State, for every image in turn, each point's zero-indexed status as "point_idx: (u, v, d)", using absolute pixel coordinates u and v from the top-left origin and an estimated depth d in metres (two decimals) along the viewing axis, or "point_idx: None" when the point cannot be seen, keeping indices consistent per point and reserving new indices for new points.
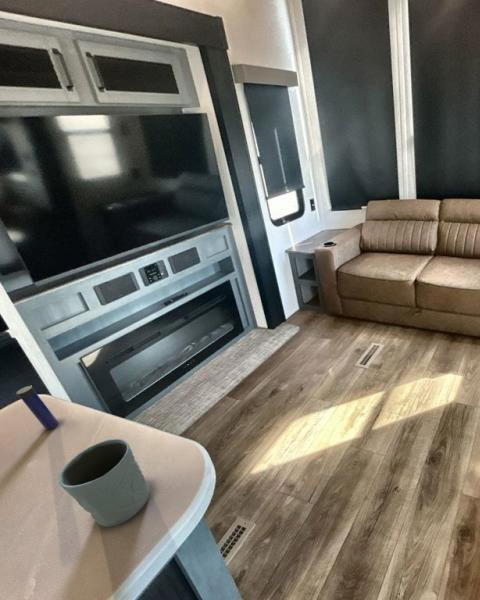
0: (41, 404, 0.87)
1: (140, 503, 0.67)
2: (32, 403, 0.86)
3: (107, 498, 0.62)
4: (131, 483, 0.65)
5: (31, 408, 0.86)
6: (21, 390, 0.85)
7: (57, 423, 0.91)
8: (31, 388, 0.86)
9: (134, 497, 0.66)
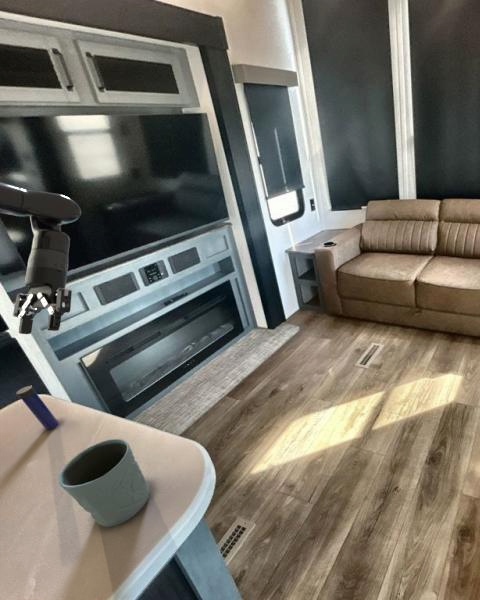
0: (41, 404, 0.87)
1: (140, 503, 0.67)
2: (32, 403, 0.86)
3: (107, 498, 0.62)
4: (131, 483, 0.65)
5: (31, 408, 0.86)
6: (21, 390, 0.85)
7: (57, 423, 0.91)
8: (31, 388, 0.86)
9: (134, 497, 0.66)
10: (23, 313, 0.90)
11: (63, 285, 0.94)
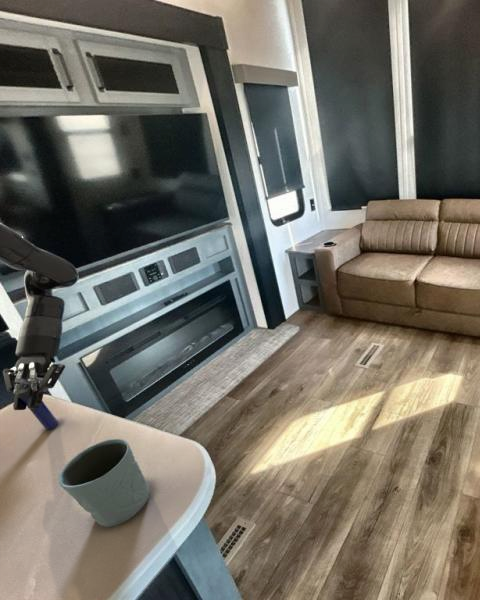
0: (41, 404, 0.87)
1: (140, 503, 0.67)
2: None
3: (107, 498, 0.62)
4: (131, 483, 0.65)
5: None
6: (21, 390, 0.85)
7: (57, 423, 0.91)
8: (31, 388, 0.86)
9: (134, 497, 0.66)
10: (20, 388, 0.85)
11: (57, 353, 0.91)
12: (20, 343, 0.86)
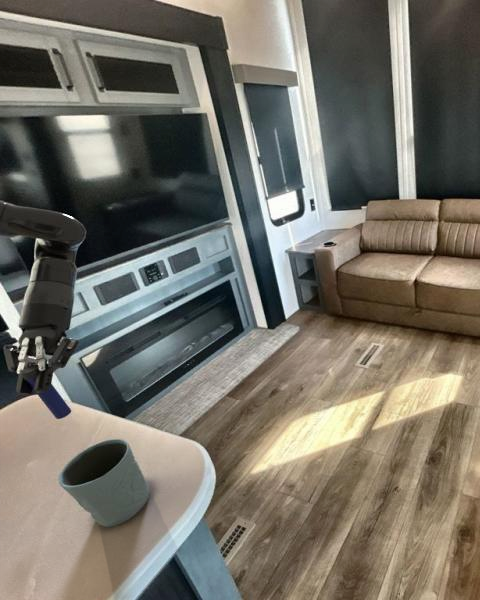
0: (50, 387, 0.72)
1: (140, 503, 0.67)
2: None
3: (107, 498, 0.62)
4: (131, 483, 0.65)
5: (38, 392, 0.71)
6: (26, 369, 0.70)
7: (69, 411, 0.75)
8: (38, 367, 0.70)
9: (134, 497, 0.66)
10: (24, 367, 0.70)
11: (68, 326, 0.75)
12: (24, 313, 0.71)
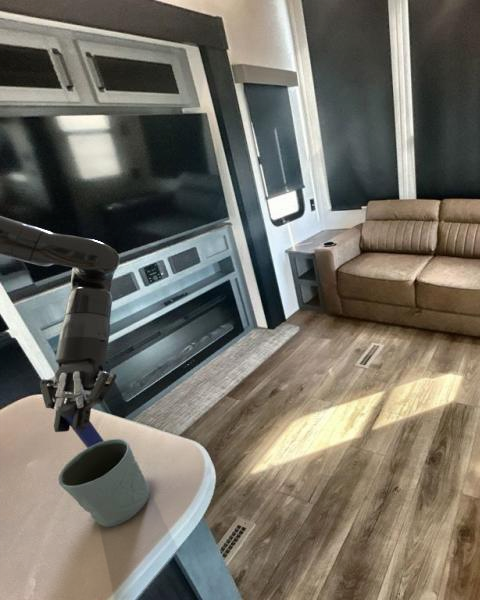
0: None
1: (140, 503, 0.67)
2: None
3: (107, 498, 0.62)
4: (131, 483, 0.65)
5: None
6: (64, 406, 0.67)
7: None
8: (76, 404, 0.68)
9: (134, 497, 0.66)
10: (62, 403, 0.68)
11: (105, 359, 0.73)
12: (62, 347, 0.68)
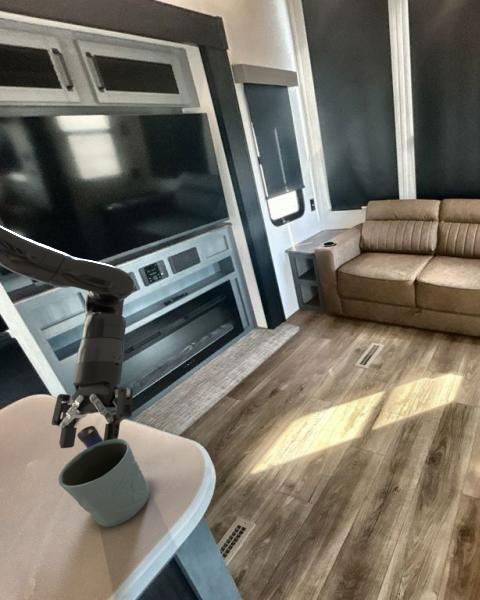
0: None
1: (140, 503, 0.67)
2: None
3: (107, 498, 0.62)
4: (131, 483, 0.65)
5: None
6: (83, 432, 0.70)
7: None
8: (94, 429, 0.71)
9: (134, 497, 0.66)
10: (67, 421, 0.71)
11: (119, 381, 0.76)
12: (79, 371, 0.71)
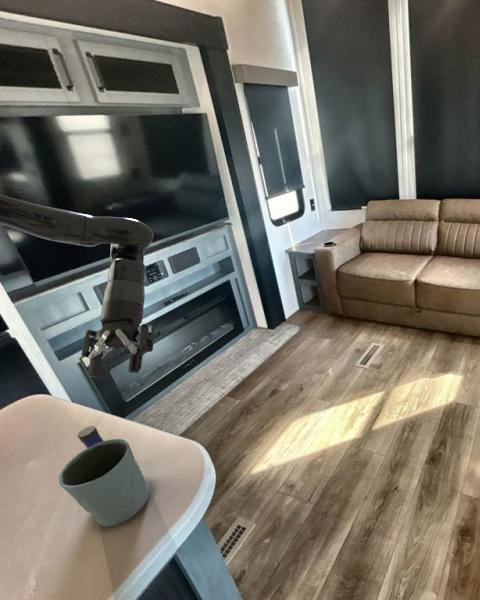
0: None
1: (140, 503, 0.67)
2: None
3: (107, 498, 0.62)
4: (131, 483, 0.65)
5: None
6: (83, 432, 0.70)
7: None
8: (94, 429, 0.71)
9: (134, 497, 0.66)
10: (95, 352, 0.79)
11: (141, 321, 0.84)
12: (106, 308, 0.79)
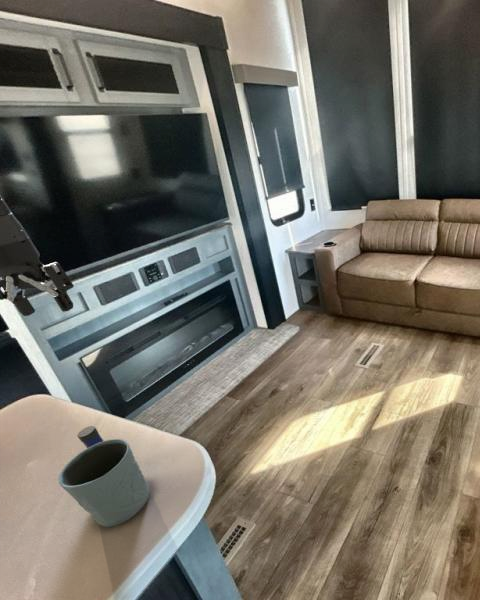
0: None
1: (140, 503, 0.67)
2: None
3: (107, 498, 0.62)
4: (131, 483, 0.65)
5: None
6: (83, 432, 0.70)
7: None
8: (94, 429, 0.71)
9: (134, 497, 0.66)
10: (12, 296, 0.75)
11: (38, 255, 0.74)
12: None
